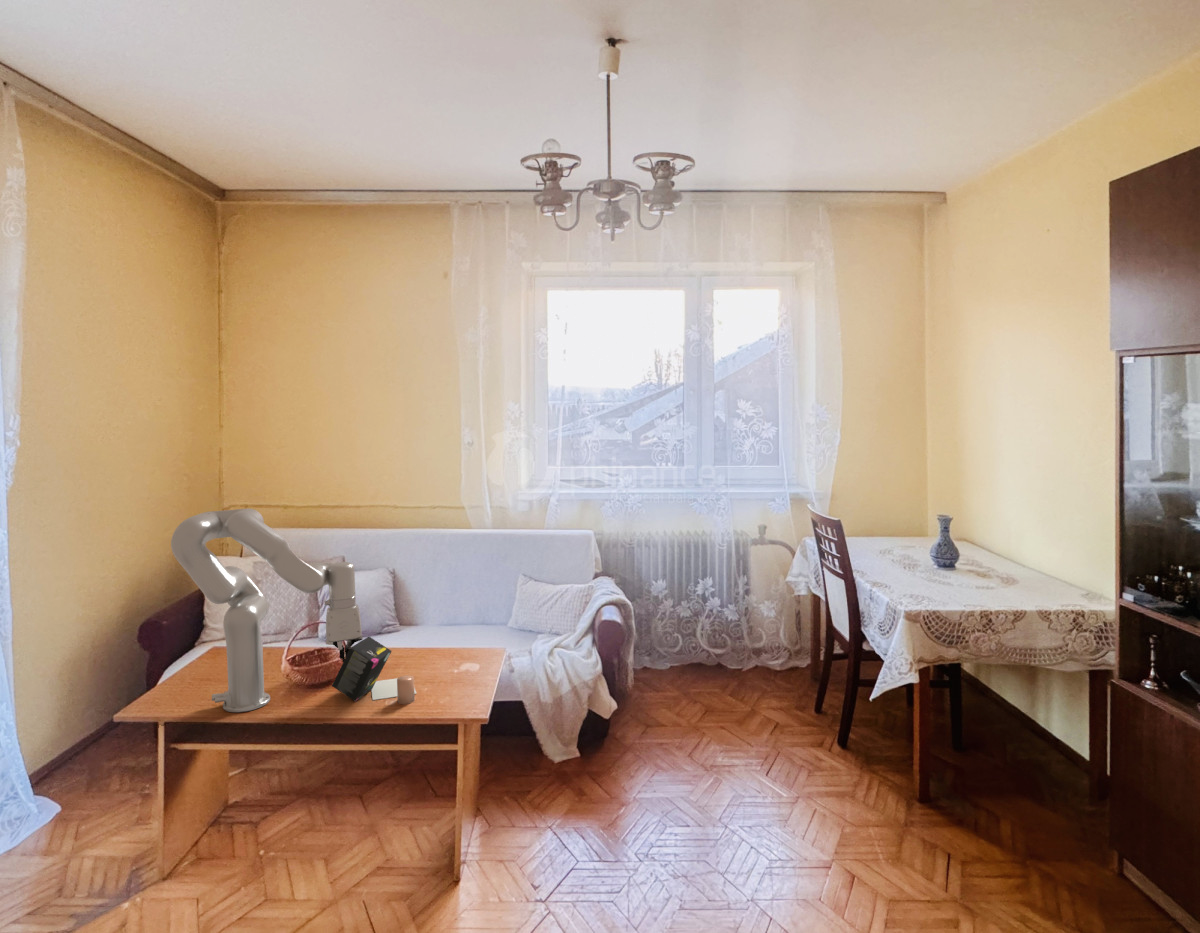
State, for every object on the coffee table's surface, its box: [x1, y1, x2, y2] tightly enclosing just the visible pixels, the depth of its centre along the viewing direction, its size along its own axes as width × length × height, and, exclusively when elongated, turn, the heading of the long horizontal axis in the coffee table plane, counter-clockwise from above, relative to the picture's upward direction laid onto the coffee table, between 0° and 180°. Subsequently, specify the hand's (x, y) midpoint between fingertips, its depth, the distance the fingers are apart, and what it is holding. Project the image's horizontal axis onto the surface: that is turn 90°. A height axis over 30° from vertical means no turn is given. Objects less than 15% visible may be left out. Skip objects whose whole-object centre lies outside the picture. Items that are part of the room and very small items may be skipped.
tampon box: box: [331, 636, 393, 703], centre depth 204 cm, size 11×9×15 cm
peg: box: [396, 675, 415, 705], centre depth 201 cm, size 5×5×7 cm
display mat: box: [370, 677, 417, 701], centre depth 210 cm, size 13×15×1 cm
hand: (345, 660), depth 204 cm, fingers closed
